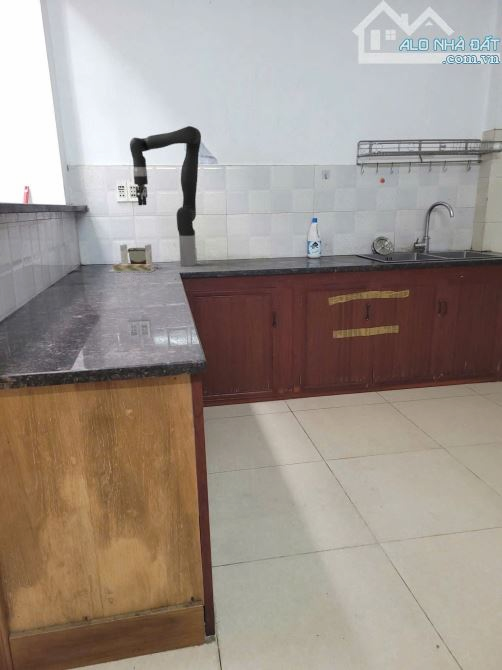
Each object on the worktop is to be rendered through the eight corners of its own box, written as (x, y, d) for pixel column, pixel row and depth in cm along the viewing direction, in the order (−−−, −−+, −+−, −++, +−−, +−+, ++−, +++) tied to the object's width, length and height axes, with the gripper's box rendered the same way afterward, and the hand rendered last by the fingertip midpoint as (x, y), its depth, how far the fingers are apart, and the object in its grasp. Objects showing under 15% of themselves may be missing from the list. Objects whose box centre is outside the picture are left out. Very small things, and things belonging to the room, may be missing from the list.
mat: (155, 269, 262) (155, 269, 262) (151, 272, 254) (151, 271, 254) (113, 269, 263) (113, 269, 263) (108, 272, 256) (108, 271, 256)
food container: (152, 264, 282) (150, 247, 279) (149, 265, 276) (147, 248, 273) (132, 264, 283) (130, 247, 280) (128, 265, 278) (127, 248, 275)
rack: (156, 267, 271) (154, 244, 267) (153, 269, 264) (151, 245, 261) (122, 267, 272) (120, 244, 269) (118, 269, 266) (116, 245, 262)
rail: (150, 269, 259) (150, 264, 259) (149, 270, 257) (149, 265, 256) (115, 269, 261) (114, 264, 260) (113, 270, 258) (112, 265, 257)
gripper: (143, 175, 262) (145, 205, 267) (150, 176, 276) (152, 204, 280) (130, 175, 263) (132, 205, 267) (137, 176, 276) (139, 205, 281)
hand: (142, 205), depth 274 cm, fingers open, 8 cm apart
